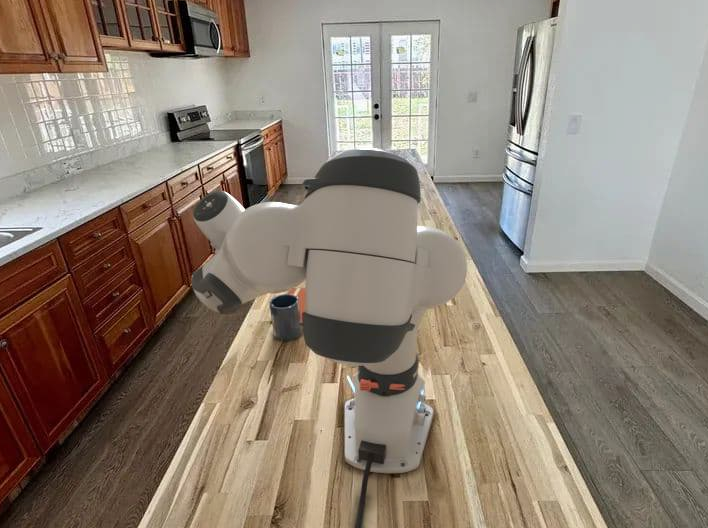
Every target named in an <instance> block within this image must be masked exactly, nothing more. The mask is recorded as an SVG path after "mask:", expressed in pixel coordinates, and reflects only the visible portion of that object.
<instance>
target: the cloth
mask: <svg viewBox="0 0 708 528" xmlns="http://www.w3.org/2000/svg"><path fill="white" fill-rule="evenodd" d="M305 290H306V288H301V287H299V288H298V287H295V288H293V289H291V290H288V291H289V292H288V293H287V294H291V295H295V296H296V297H298V300H299V308H300V317H301V325H302V313H303V312H305ZM270 323H272V319H271V320H270Z"/></svg>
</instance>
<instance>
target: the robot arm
mask: <svg viewBox="0 0 708 528" xmlns="http://www.w3.org/2000/svg"><path fill="white" fill-rule="evenodd" d="M300 186H301V188H302V190H304V191H306V193H305V195H304V197H303V198H304V200H303V202H301V203H300V204H298V205H297V204H289V203H284V202H279V201H267V202H265V201H264V202H260V203H256V204H253V205H251V206H249V207H247V208H244V206H242V204H241V203H240V202H239V201H238V200H237V199H235V198H234V197H233V196H232V195H231V194H229V193H228V192H226V191H224V190H214V191H211V192H209V193H208V194H206V195H205V196H204V197H202V198H201V199H200V201H198V202H197V203H196V204H195V206H194V208H193V211H192V218H193V221H194V222H195V224H196V226H197V228H199V230H200V232H201V233H202V234H203V235H204V236H205V238H206V239H208V241H210V246H211V247H212V248H213V249H214V250H215V251H214V255H213V256H212V257H211V258H209V260H207V262H206V263H204V264H203V265H201V266H200V267H199V268H198V269H197V270H195V271H194V272H193V273H192V276H191V289H192V290H193V292H194V294H195V296H196V298H197V300H199V302H201V303H202V305H204V306H205V307H206V308H207V309H209V310H211V311H212V312H215V313H218V314H219V315H234V314H237V313H238V311H240V309H241V308H242V307H243V306H244V305H245V303H248V302H250V301H254V300H255V299H258V298H260V297H262V296H265V295H268V294H281V293H285V292H288V291H290V290H291V289H293V288H298V287H299V286H300V285H301V284H303V283H304V282H305V289H306V290H305V312H303V313H302V324H301V326H302V333H303V341H304V344H305V345H306V346H307V347H308V348H309V349H310V350H311V351H312V352H313V353H314V354H316V355H318V356H319V357H323V358H325V359H327V360H328V361H331V362H333V363H335V364H339V365H343V366H349V367H350V366H351V367H356V368H357V372H356V373H354V374H353V375H352V379H351V378H350V376H349V375H347V376H346V378H347V381H348V383H349V384H350V387H351V389H352V391H353V397H354V398H352V399H349V400H346V401H345V402H344V408H343V409H344V410H343V411H344V413H343V414H344V417H343V418H344V419H343V421H344V423H343V424H344V425H343V427H344V429H343V431H344V433H343V435H344V436H343V437H344V443H343V444H344V447H343V449H344V453H343V455H344V456H343V457H344V460H345V462H346V463H347V464H348V465H350V466H351V467H354V468H356V469H359V470H361V471H364V472H363V476H362V482H361V490H360V495H359V502H358V509H357V515H356V519H355V526H354V528H362V522H363V516H364V510H365V503H366V497H367V491H368V490H367V489H368V484H369V483H368V482H369V477H370V472H371V473H378V474H402V473H408V472H411V471H414V470H417V469H418V468H419V466H420V464H421V460H422V457H423V454H424V451H425V447H426V443H427V439H428V436H429V434H430V433H429V432H430V429H431V426H432V422H433V419H434V415H435V413H434V408H432V406H430V405H429V404H427V403H426V381H425V379H424V378H423V377H422V376H421V375H420V374H419V358H418V353H417V342H418V334H419V327H420V324H421V322H422V319H423V317H424V316H425V314H426V312H427V311H428V310H431V309H436V308H438V307H441V306H443V305H444V304H447V303H448V302H450V301H451V300H452V299H454V298H455V297H456V296H457V295H458V293H459V292H460V291H461V289H462V287H463V286H464V283H465V282H466V278H467V272H468V264H467V263H468V262H467V258H466V254H465V252H464V250H463V248H462V246H461V245H460V243H459V242H458V241H457V239H456V238H454V236H452V235H451V234H449V232H446V231H444V230H442V229H439V228H437V227H433V226H428V225H418V221H419V220H418V213H419V212H418V204H420V203H421V201H422V200H421V184H420V178H419V174H418V170H417V168H416V167H415V166H414V165H413V164H412V163H411V162H410V161H408V160H407V159H406V158H404V157H403V156H400V155H398V154H394V153H391V152H389V151H387V150H383V149H380V148H379V149H378V148H372V147H371V148H369V147H367V148H366V147H365V148H355V149H354V148H353V149H346V150H342V151H341V152H339V153H337V154H336V155H335V156H333V157H332V158H330V159H329V160H327V161H326V162H324V163H323V164H322V166H320V168H319V170H318V171H317V173H316V174H315V176H314V177H313V178H307V179H304V180H303V182H302V183H301V185H300ZM352 380H353V382H352Z"/></svg>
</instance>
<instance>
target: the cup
mask: <svg viewBox="0 0 708 528" xmlns="http://www.w3.org/2000/svg"><path fill="white" fill-rule="evenodd" d="M268 304H269V311H270V318H271V320H272V322H271V324H272V331H273V336H274V338H275V339H276V340H279V341H283V342H287V341H292V340H295V339H297V338H299V337H300V336H301V335H302V333H303V325H302V324H301V317H300V308H299V300H298V297H296V296H295V295H291V294H288V293H285V294H284V293H283V294H279V295H276V296H274V297H272V298H270V300H269V302H268Z"/></svg>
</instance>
